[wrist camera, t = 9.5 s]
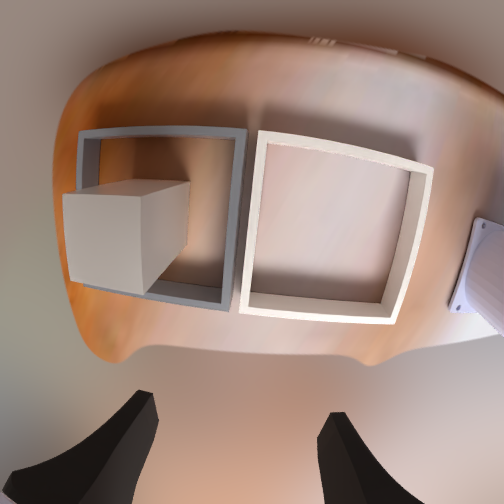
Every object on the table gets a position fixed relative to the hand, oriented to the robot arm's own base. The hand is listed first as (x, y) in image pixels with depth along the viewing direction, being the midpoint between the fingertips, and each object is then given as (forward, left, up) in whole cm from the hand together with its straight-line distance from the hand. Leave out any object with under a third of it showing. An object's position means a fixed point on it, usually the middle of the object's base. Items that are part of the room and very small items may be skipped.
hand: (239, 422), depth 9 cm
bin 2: (-4, -6, -9) cm, 12 cm away
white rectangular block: (+7, -6, -10) cm, 13 cm away
